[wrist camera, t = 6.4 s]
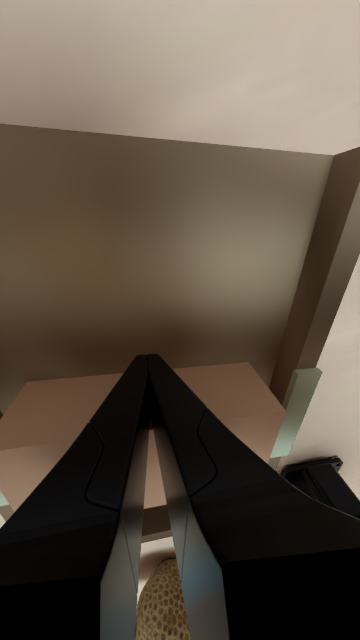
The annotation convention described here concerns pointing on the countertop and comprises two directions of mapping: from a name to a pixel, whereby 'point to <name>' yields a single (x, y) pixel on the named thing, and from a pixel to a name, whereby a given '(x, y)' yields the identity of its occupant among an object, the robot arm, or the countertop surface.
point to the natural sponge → (162, 606)
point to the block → (88, 394)
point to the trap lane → (170, 262)
